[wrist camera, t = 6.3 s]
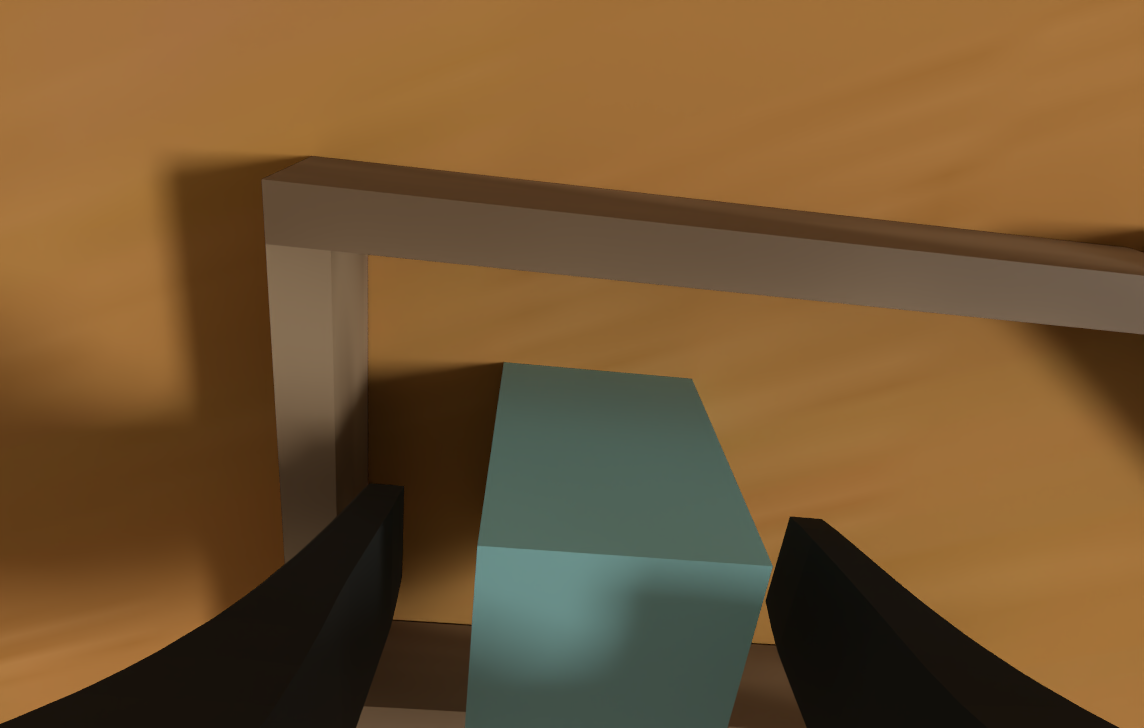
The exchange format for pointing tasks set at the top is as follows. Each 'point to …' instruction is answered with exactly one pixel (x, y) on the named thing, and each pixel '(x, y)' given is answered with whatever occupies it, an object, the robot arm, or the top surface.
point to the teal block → (610, 558)
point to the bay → (607, 251)
